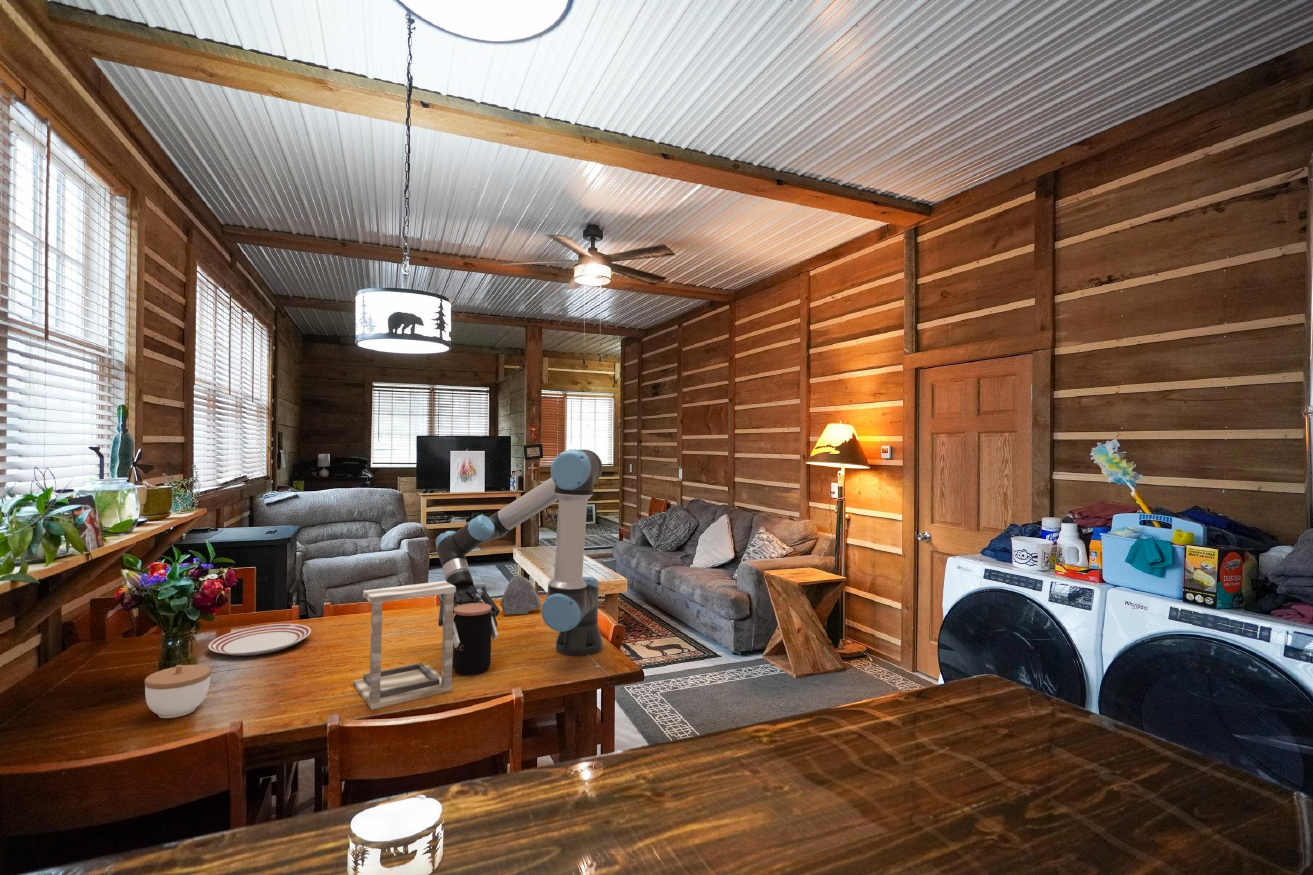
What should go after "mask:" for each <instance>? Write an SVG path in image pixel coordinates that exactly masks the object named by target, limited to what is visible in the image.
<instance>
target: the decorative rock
mask: <svg viewBox="0 0 1313 875" xmlns="http://www.w3.org/2000/svg"><path fill="white" fill-rule="evenodd" d="M536 590H537V589H536V588H535V586H534V585H533V584H532V582H531V581H530V580H529V579H527V577H524V576H522V574H518V575H515V576H513V577H512V578H511V579H510V580H509V583H508V584H507V587H506V588H505V590H504V593H503V595H502V598H501V599H500V603H499V606H500V607H501V610H502V612H503V614H504V615H528V614H529V611H531V610H537V609H541V608H542V603H541V600H540V596H539V594H538V593H537V591H536Z"/></svg>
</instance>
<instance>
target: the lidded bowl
mask: <svg viewBox="0 0 1313 875" xmlns="http://www.w3.org/2000/svg"><path fill="white" fill-rule="evenodd" d="M211 673H212V668H211V667H210V666H208V665H205V664H185V665H183V664H177V665H175V666H173V667H169V668H164V669H161V670H159V671H156V672H153V673H151V674H150V675H148V676H146V678H145V679H144V695H145V701H146V705H147V707H148V708H149V709H150V711H151V712H153V713H154V714H156V715H158V716H157V717H158V718H161V719H175V718H179V717H183V716H187V715H189V714H192V713H193V712H195V711H196V710H197V707H198V706H200V704H201V703H202V702H204V700H205V698H206V696H207V695H208V693H209V689H210V684H211V675H212V674H211Z"/></svg>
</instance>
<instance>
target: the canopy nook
mask: <svg viewBox="0 0 1313 875" xmlns="http://www.w3.org/2000/svg"><path fill="white" fill-rule="evenodd" d="M454 592H456V586H454V585H452V584H450V583H448V582H446V580H441V581H438V580H437V581H433V582H423V583H422V582H421V583H416V584H415V583H413V584H406V585H401V586H400V585H399V586H398V585H397V586H391V587H382V588H375V589H368V590H367V589H366V590H363V592H362V597H363V598H364V599H365V600H366V601H368V602H369V603H370V604H371V610H370V611H371V615H370V618H371V619H370V620H371V621H370V624H371V625H370V648H369V649H370V655H369V657H370V658H369V673H365V674H363V675H362V676H363V677H362V678H360V679H355V680H353V686H354V688H355V689H356V691H357V692H358V693H359V695H360V697H362V699H363V700H364V702H365V703H366V704H367V706H368V707H369V708H370V710H372V711H373V710H377V709H381V708H384V707H385V708H386V707H390V706H393V705H397V704H402V703H405V702H406V703H407V702H411V701H414V700H419V699H422V698H427V697H431V696H435V695H440V694H444V693H448V692H453V685H452V683H453V682H452V679H453V667H452V666H453V619H454V616H453V607H454ZM441 594H444V603H443V626H442V644H441V646H442V649H441V650H442V651H441V652H442V655H441V656H442V657H441V674H440V673H438V672H437V671H436V670H435V669H434V668H433V667H431V665H430V664H428V665H424V664H423V663H422V662H419V663H414V664H408V665H403V666H399V667H394V668H390V669H385V670H381V668H382V632H383V628H382V627H383V625H382V624H383V603H387V602H393V601H400V600H408V599H415V598H417V599H418V598H425V597H431V596H438V595H439V596H440V595H441Z"/></svg>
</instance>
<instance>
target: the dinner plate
mask: <svg viewBox="0 0 1313 875" xmlns="http://www.w3.org/2000/svg"><path fill="white" fill-rule="evenodd" d="M311 633H312V629H311V628H310V627H308V626H307V625H303V624H299V623H298V624H297V623H276V624H275V623H274V624H266V625H259V626H258V625H257V626H252V627H247V628H243V629H242V628H241V629H239V630H235V631H232V632H229V633H225V634H224V635H223V634H222V635H221V636H218V637H217V638H215V639H213V640H211V641H210V642H209V643H208V645H207V648H208V649H209V651H211V652H213V653H216V654H217V653H218V654H221V655H222V654H223V655H228V656H229V655H230V656H240V657H241V656H242V657H247V656H248V657H249V656H258V655H266V654H271V653H276V652H279V651H282V650H286V649H287V648H289V647H291V646H293V645H296V644H298V643H300V642H301V641H303V640H305V639H306V638H307V637H309V635H310V634H311Z"/></svg>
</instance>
